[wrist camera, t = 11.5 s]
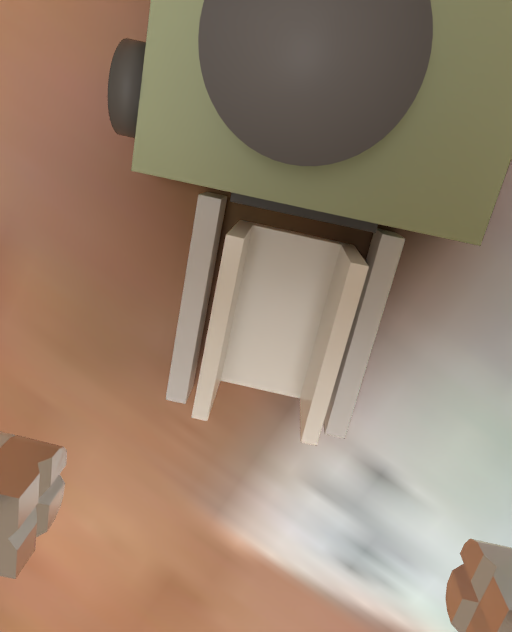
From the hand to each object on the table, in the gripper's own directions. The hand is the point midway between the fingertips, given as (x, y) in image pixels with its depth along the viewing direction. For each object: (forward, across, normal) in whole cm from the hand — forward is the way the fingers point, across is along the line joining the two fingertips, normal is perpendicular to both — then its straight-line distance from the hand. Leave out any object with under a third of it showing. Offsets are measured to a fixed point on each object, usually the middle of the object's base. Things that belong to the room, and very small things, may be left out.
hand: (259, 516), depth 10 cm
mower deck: (+15, +1, -6) cm, 16 cm away
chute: (+15, 0, +1) cm, 15 cm away
